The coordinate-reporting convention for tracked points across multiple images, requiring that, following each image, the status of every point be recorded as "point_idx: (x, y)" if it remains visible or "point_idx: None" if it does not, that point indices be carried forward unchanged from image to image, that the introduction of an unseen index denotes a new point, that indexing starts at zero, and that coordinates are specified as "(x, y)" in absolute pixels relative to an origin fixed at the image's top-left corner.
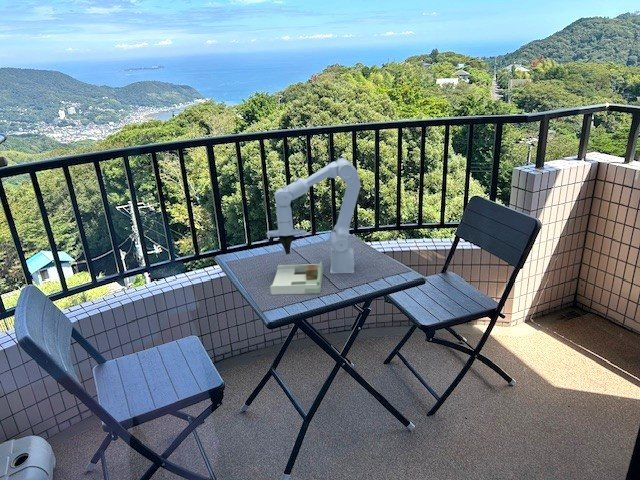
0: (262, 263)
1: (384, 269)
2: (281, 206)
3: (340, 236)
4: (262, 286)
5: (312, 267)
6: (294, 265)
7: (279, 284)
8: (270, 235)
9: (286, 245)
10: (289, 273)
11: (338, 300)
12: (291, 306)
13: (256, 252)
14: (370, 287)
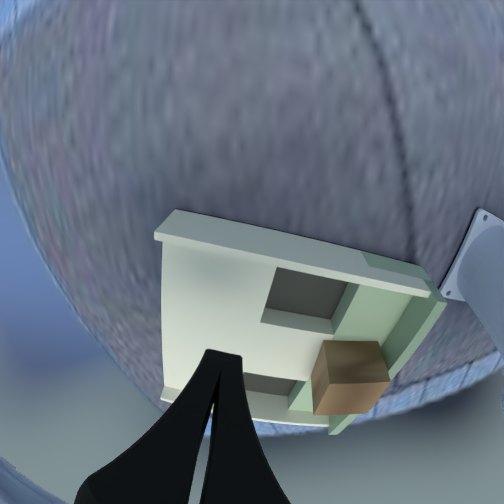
0: (88, 51)
1: None
2: None
3: None
4: (123, 312)
5: (356, 400)
6: (278, 266)
7: (191, 374)
8: (7, 476)
9: (198, 451)
10: (237, 305)
11: (362, 419)
12: None
13: None
14: (460, 379)
